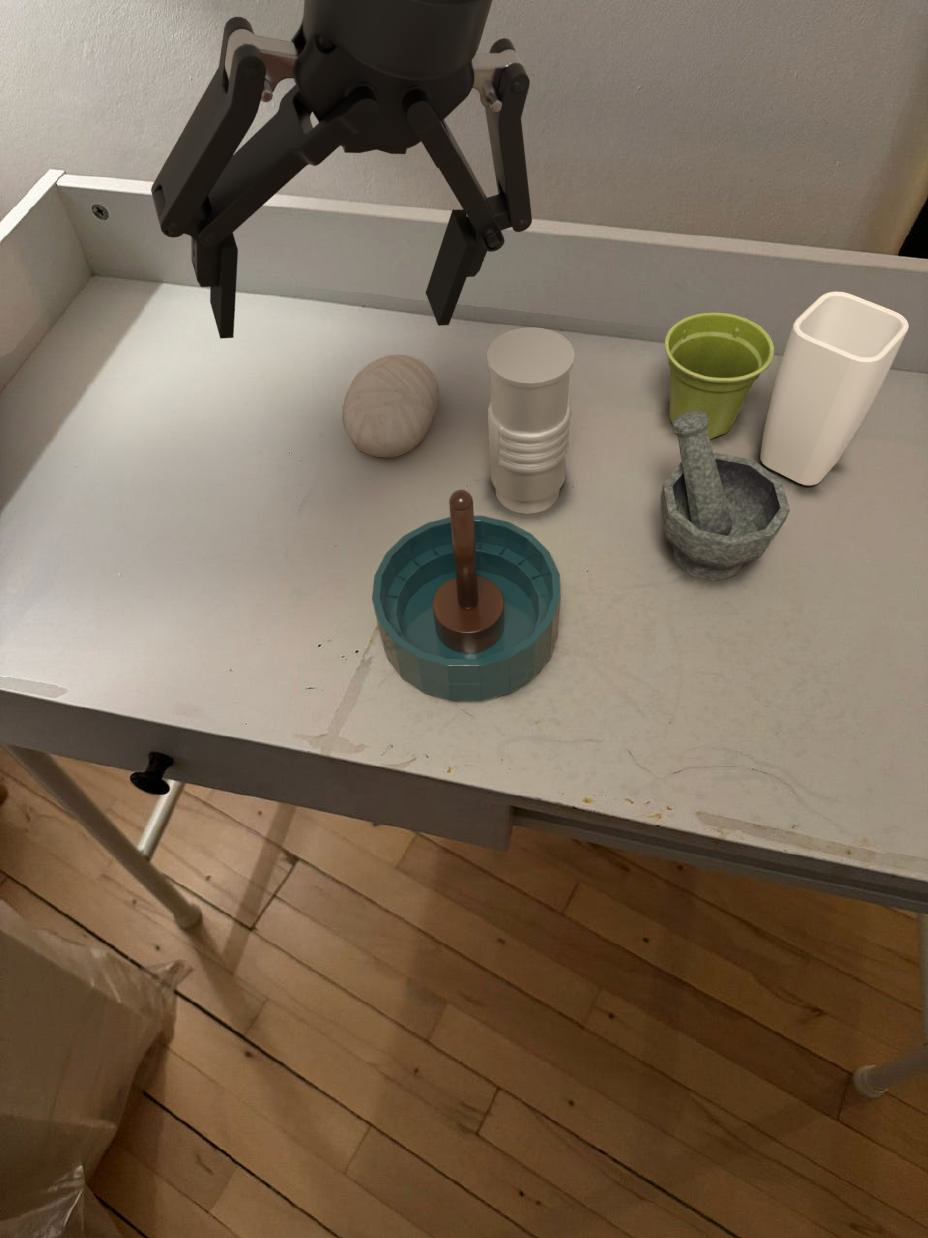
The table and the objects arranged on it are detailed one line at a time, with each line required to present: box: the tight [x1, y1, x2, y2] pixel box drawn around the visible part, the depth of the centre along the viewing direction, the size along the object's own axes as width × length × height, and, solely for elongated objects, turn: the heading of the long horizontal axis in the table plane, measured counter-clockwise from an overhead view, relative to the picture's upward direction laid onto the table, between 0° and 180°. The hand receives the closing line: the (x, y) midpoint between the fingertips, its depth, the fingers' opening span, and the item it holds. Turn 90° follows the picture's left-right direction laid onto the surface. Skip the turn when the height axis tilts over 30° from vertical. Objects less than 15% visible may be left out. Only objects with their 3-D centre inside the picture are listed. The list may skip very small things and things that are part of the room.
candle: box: [486, 326, 575, 515], centre depth 70 cm, size 7×7×15 cm
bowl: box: [371, 515, 562, 702], centre depth 65 cm, size 14×14×6 cm
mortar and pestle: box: [660, 411, 791, 582], centre depth 67 cm, size 11×9×12 cm
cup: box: [760, 291, 910, 486], centre depth 71 cm, size 7×7×15 cm
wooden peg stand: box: [433, 489, 504, 653], centre depth 61 cm, size 6×6×15 cm
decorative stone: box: [341, 354, 439, 458], centre depth 80 cm, size 13×9×5 cm
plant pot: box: [664, 312, 775, 440], centre depth 77 cm, size 9×9×9 cm
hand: (334, 314), depth 51 cm, fingers open, 13 cm apart
